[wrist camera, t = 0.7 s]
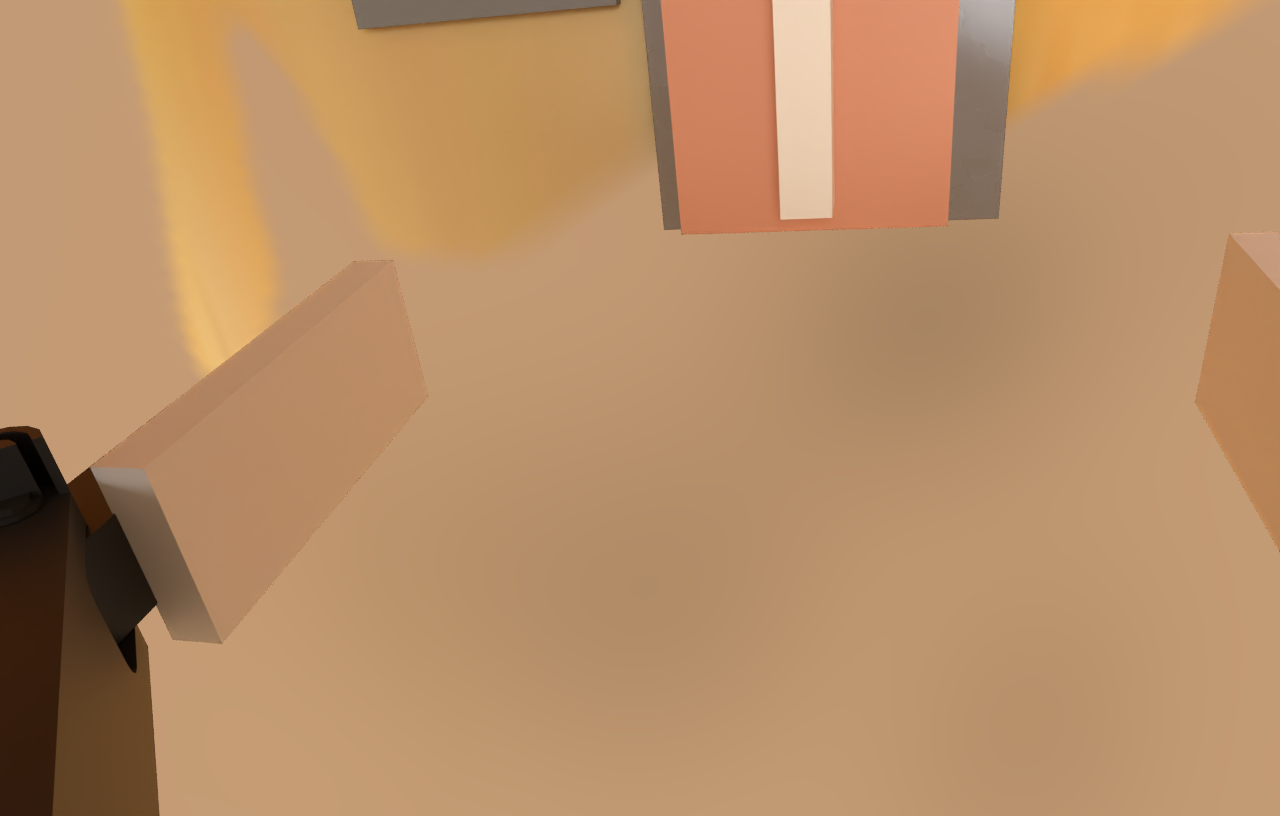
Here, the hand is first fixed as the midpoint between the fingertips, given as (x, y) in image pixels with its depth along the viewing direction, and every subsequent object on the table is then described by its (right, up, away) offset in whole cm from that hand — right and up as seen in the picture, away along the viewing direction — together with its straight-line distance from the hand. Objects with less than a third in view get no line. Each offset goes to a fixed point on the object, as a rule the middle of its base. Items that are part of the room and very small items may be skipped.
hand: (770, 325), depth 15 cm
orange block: (+4, +10, +15) cm, 18 cm away
